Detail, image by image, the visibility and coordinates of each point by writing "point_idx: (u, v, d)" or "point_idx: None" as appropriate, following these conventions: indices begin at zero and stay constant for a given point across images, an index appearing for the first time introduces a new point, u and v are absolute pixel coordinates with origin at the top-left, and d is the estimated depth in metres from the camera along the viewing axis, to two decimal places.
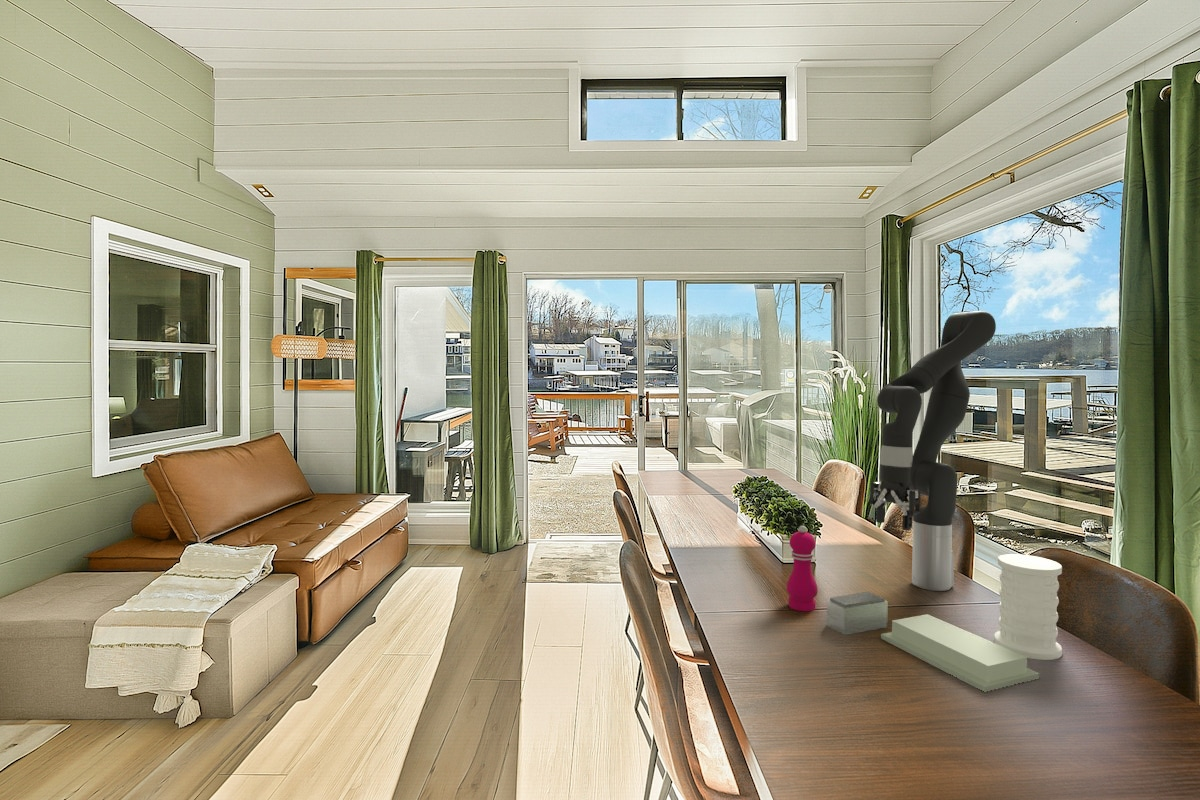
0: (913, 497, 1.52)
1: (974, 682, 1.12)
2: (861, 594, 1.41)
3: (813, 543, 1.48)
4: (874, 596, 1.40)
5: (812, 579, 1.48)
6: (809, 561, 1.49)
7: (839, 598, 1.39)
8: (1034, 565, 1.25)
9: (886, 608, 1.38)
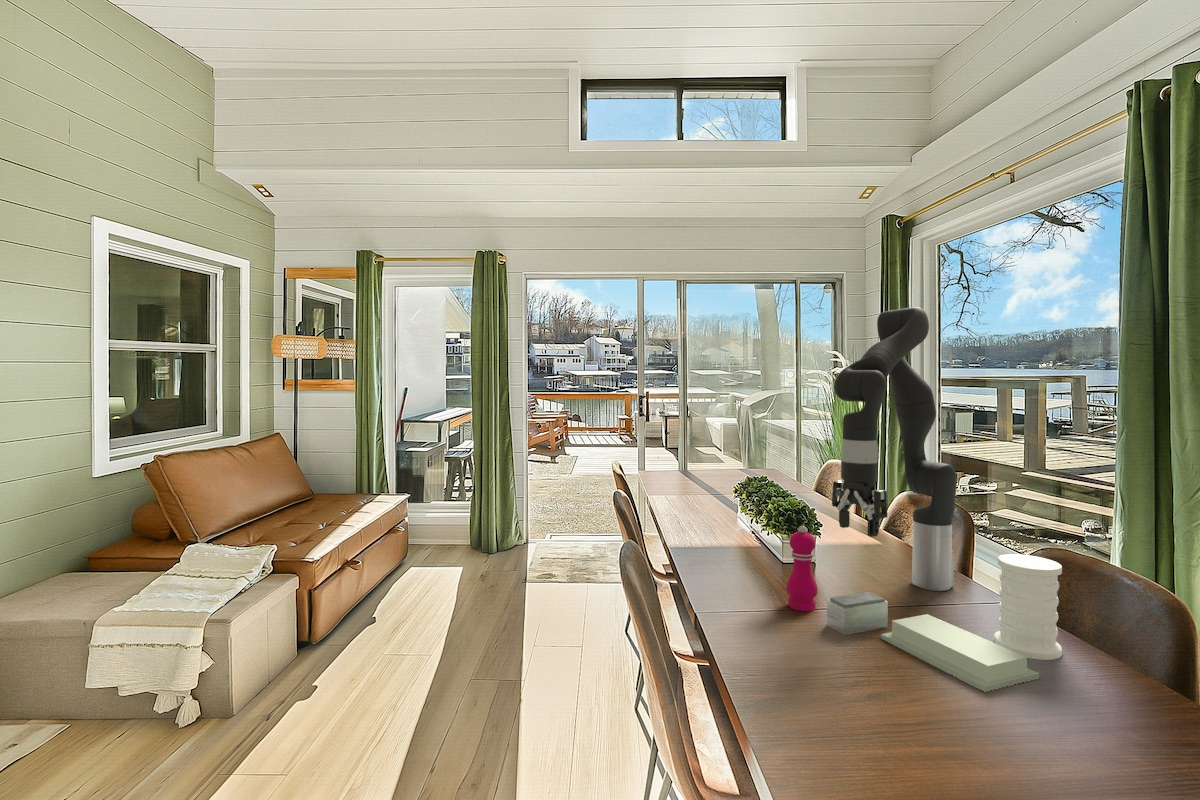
0: (878, 498, 1.31)
1: (974, 682, 1.12)
2: (861, 594, 1.41)
3: (813, 543, 1.48)
4: (874, 596, 1.40)
5: (812, 579, 1.48)
6: (809, 561, 1.49)
7: (839, 597, 1.39)
8: (1034, 565, 1.25)
9: (886, 608, 1.38)
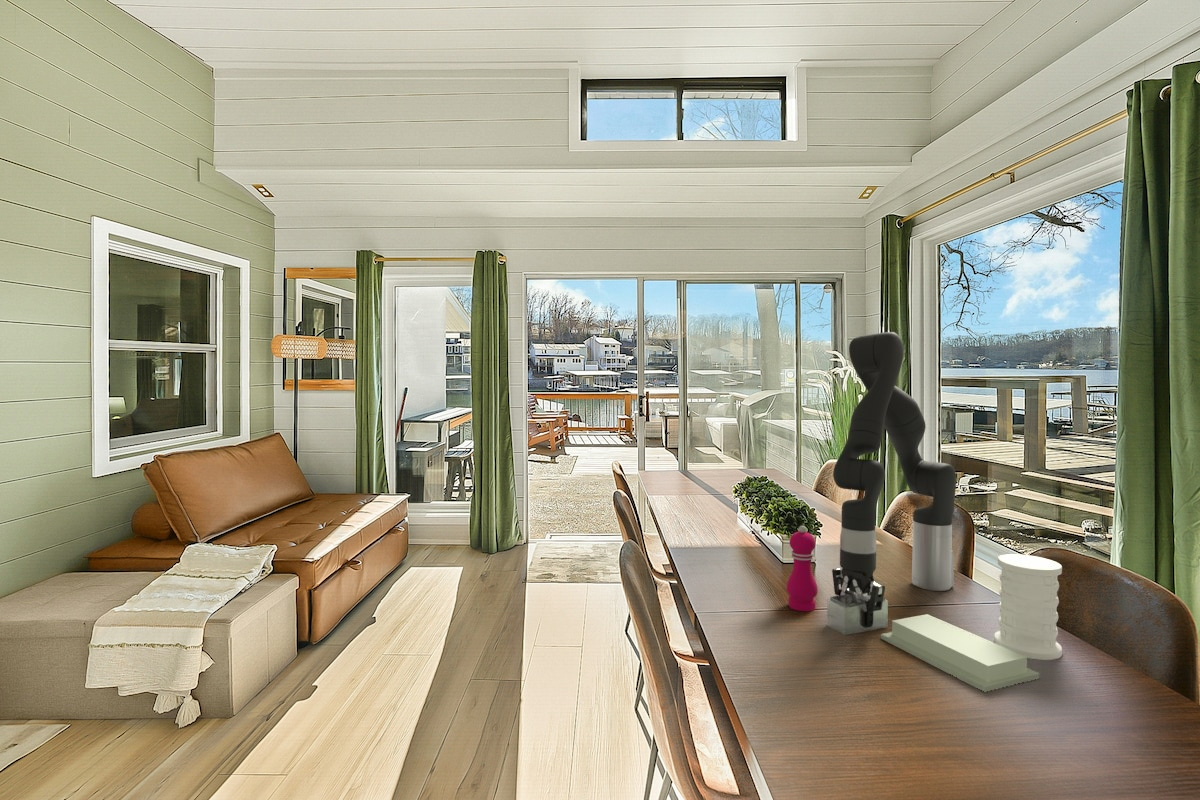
0: (876, 594, 1.32)
1: (974, 682, 1.12)
2: None
3: (813, 543, 1.48)
4: None
5: (812, 579, 1.48)
6: (809, 561, 1.49)
7: (839, 597, 1.39)
8: (1034, 565, 1.25)
9: (886, 607, 1.38)
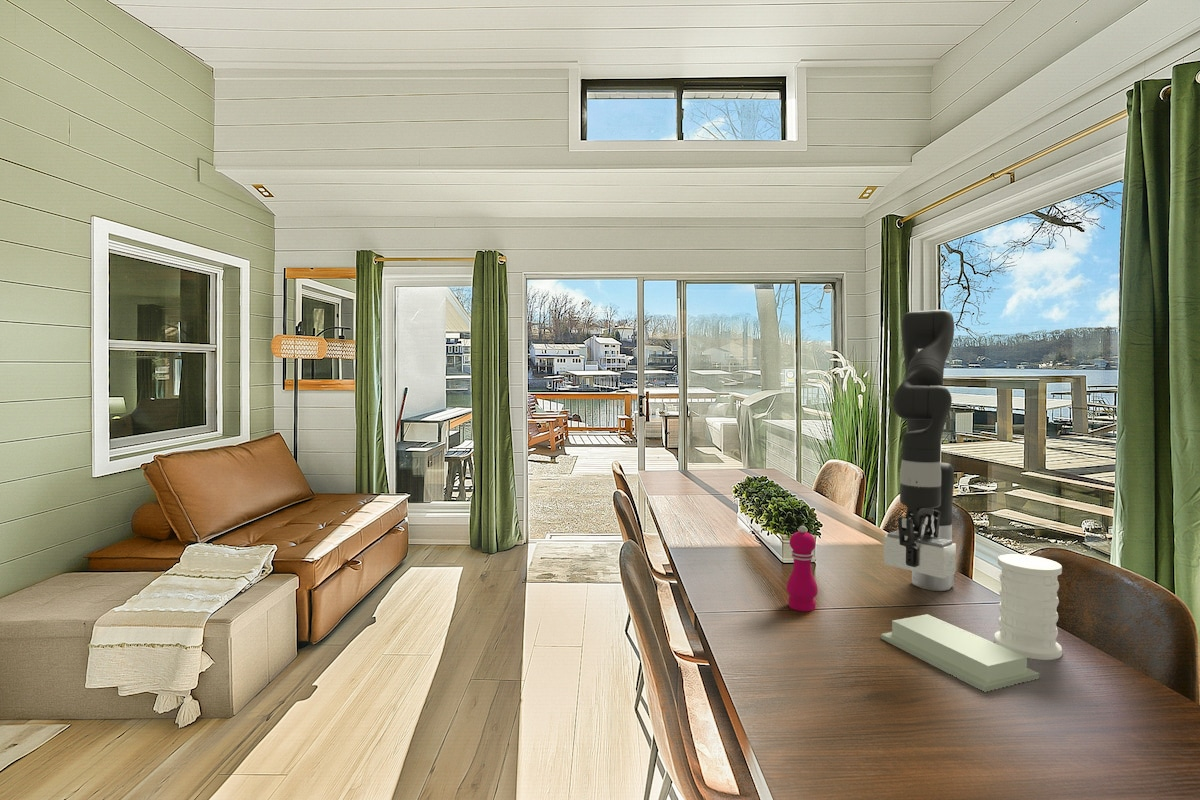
0: (899, 526, 1.24)
1: (974, 682, 1.12)
2: (935, 538, 1.26)
3: (813, 543, 1.48)
4: (939, 541, 1.24)
5: (812, 579, 1.48)
6: (809, 561, 1.49)
7: None
8: (1034, 565, 1.25)
9: (942, 555, 1.21)
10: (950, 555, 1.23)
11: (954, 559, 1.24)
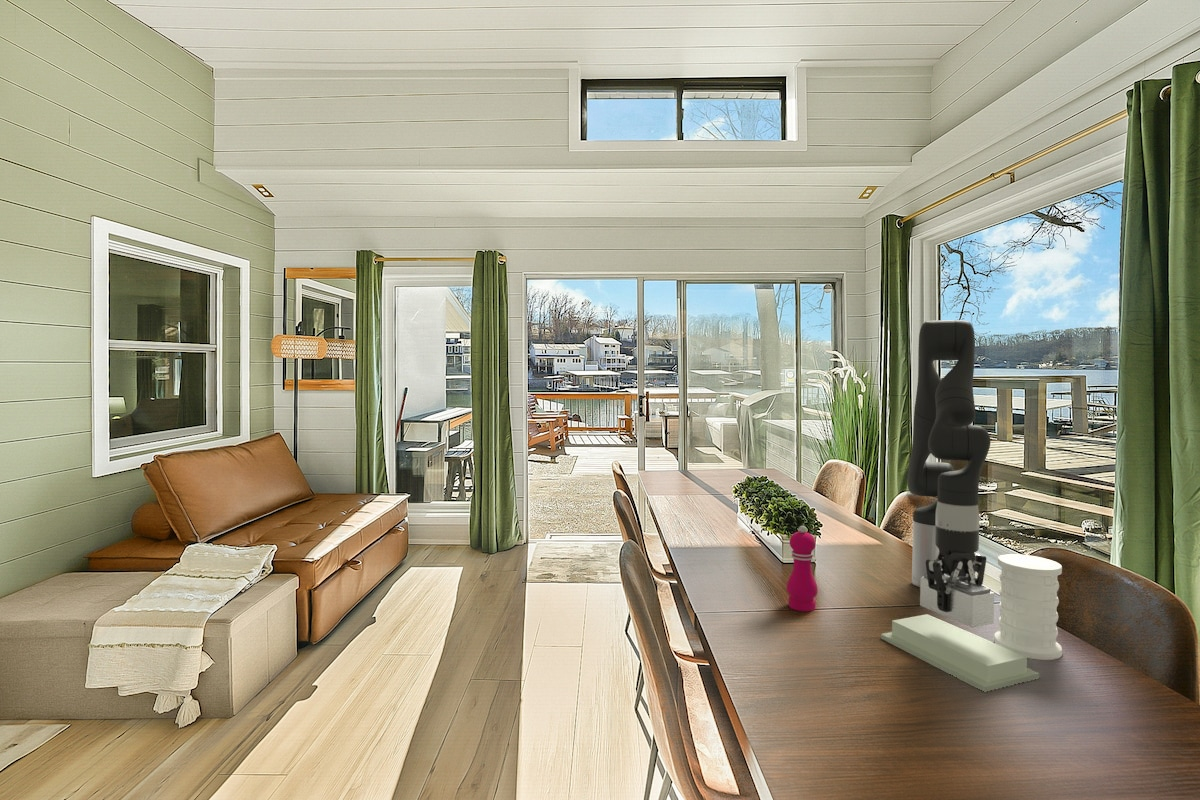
0: (927, 568, 1.22)
1: (974, 682, 1.12)
2: (973, 584, 1.21)
3: (813, 543, 1.48)
4: (973, 589, 1.19)
5: (812, 579, 1.48)
6: (809, 561, 1.49)
7: (945, 575, 1.27)
8: (1034, 565, 1.25)
9: (971, 603, 1.17)
10: (985, 604, 1.18)
11: (991, 608, 1.18)
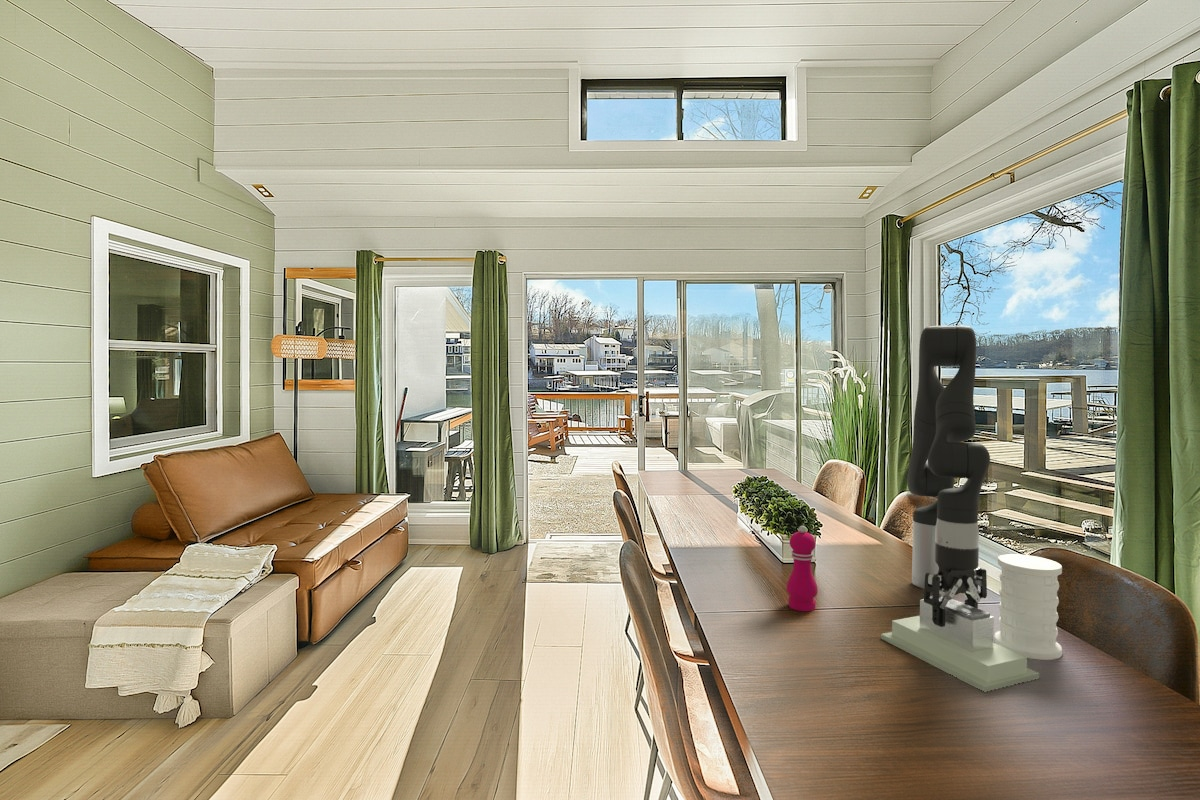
0: (926, 581, 1.22)
1: (974, 682, 1.12)
2: (972, 608, 1.21)
3: (813, 543, 1.48)
4: (972, 613, 1.19)
5: (812, 579, 1.48)
6: (809, 561, 1.49)
7: None
8: (1034, 565, 1.25)
9: (971, 628, 1.17)
10: (985, 629, 1.18)
11: (991, 632, 1.19)
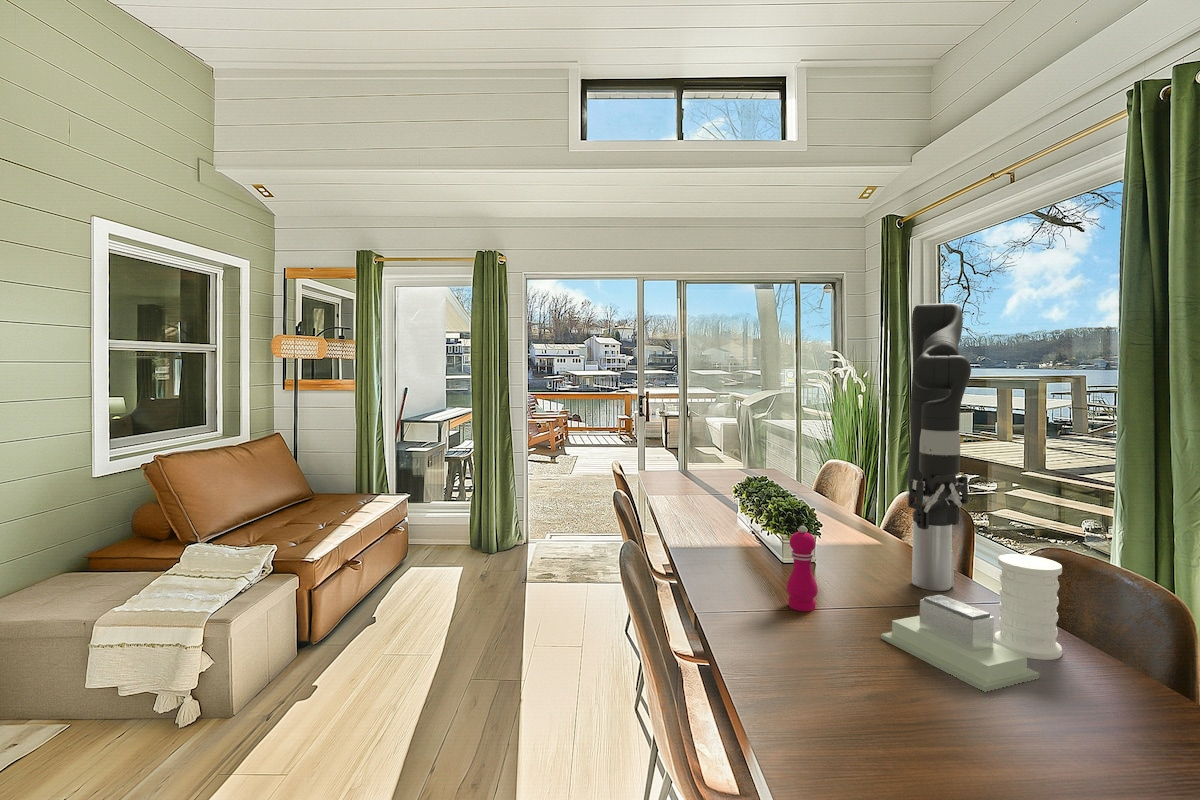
0: (910, 487, 1.29)
1: (974, 682, 1.12)
2: (972, 608, 1.21)
3: (813, 543, 1.48)
4: (972, 613, 1.19)
5: (812, 579, 1.48)
6: (809, 561, 1.49)
7: (944, 597, 1.27)
8: (1034, 565, 1.25)
9: (971, 628, 1.17)
10: (985, 629, 1.18)
11: (991, 632, 1.19)
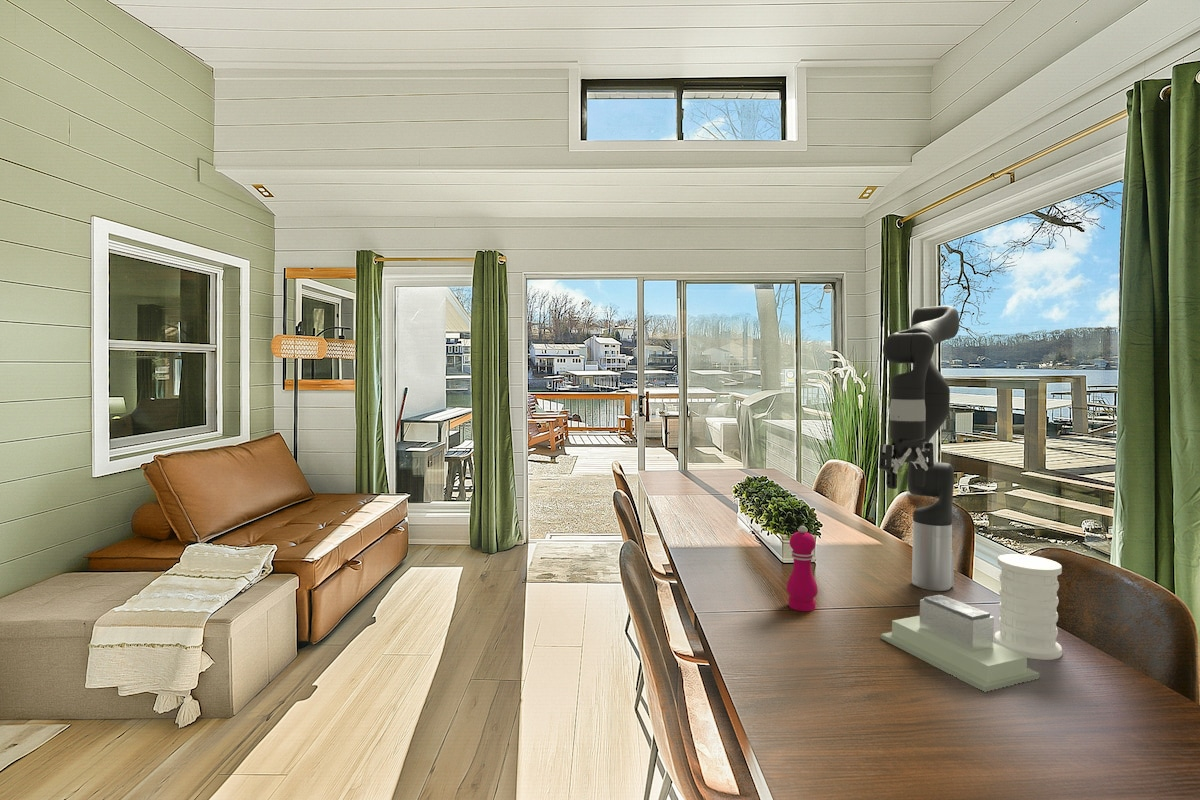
0: (880, 451, 1.43)
1: (974, 682, 1.12)
2: (972, 608, 1.21)
3: (813, 543, 1.48)
4: (972, 613, 1.19)
5: (812, 579, 1.48)
6: (809, 561, 1.49)
7: (944, 597, 1.27)
8: (1034, 565, 1.25)
9: (971, 628, 1.17)
10: (985, 629, 1.18)
11: (991, 632, 1.19)
